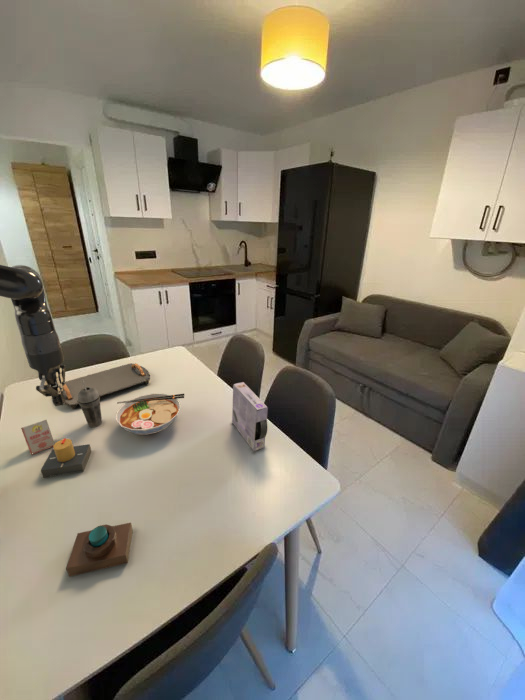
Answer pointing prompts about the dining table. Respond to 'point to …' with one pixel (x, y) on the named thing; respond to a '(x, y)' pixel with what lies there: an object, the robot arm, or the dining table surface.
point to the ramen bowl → (148, 413)
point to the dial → (64, 450)
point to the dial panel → (67, 462)
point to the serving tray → (106, 382)
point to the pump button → (98, 536)
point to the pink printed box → (38, 436)
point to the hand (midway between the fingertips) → (60, 404)
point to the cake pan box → (249, 416)
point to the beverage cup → (90, 405)
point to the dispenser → (100, 550)
